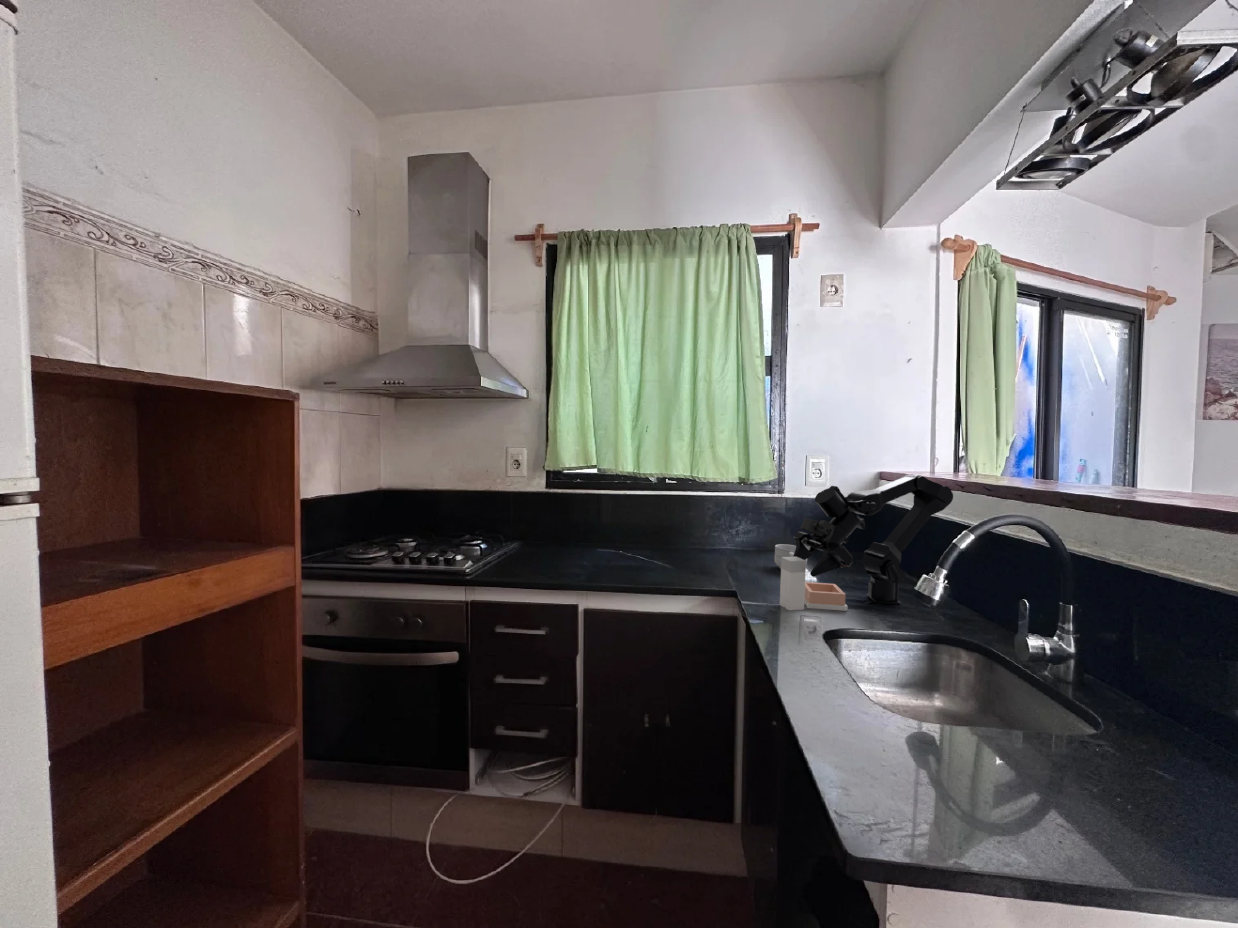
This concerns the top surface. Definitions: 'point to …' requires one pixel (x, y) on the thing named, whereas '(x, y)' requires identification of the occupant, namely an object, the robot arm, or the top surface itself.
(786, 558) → the plug
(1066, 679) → the top surface
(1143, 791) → the top surface
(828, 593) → the socket
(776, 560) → the teacup
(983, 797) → the top surface
